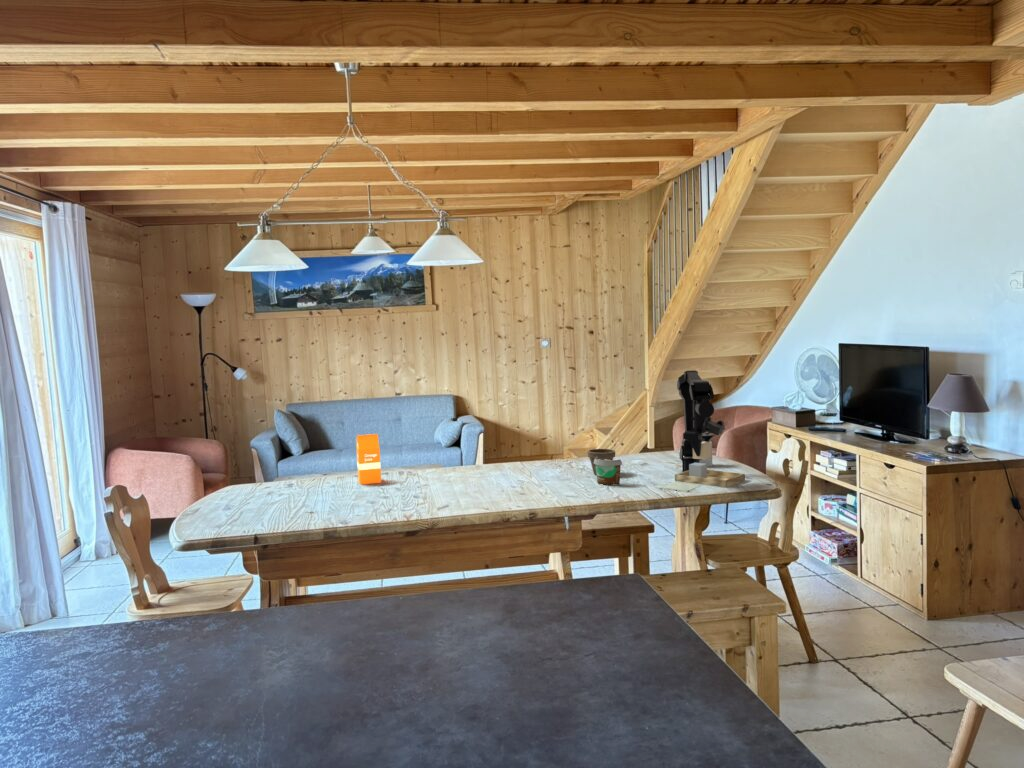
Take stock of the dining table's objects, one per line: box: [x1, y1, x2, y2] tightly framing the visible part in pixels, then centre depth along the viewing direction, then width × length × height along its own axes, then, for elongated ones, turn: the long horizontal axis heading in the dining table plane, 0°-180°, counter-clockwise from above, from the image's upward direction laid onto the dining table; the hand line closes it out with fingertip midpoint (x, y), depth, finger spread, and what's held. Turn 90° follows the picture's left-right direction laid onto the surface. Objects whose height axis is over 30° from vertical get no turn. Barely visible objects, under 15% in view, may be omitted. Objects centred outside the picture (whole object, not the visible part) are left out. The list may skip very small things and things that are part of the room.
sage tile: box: [660, 481, 702, 493], centre depth 288 cm, size 11×11×1 cm
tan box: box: [693, 441, 712, 460], centre depth 289 cm, size 5×5×6 cm
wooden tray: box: [674, 469, 746, 489], centre depth 296 cm, size 22×16×3 cm
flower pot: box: [587, 448, 616, 476], centre depth 318 cm, size 12×11×10 cm
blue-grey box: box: [689, 463, 708, 478], centre depth 299 cm, size 5×5×6 cm
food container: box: [594, 457, 623, 486], centre depth 298 cm, size 12×6×10 cm, turn 47°
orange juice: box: [356, 433, 382, 485], centre depth 319 cm, size 8×9×20 cm
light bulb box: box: [700, 440, 713, 468], centre depth 328 cm, size 11×7×11 cm, turn 84°
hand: (701, 455), depth 289 cm, fingers closed on tan box, 5 cm apart
